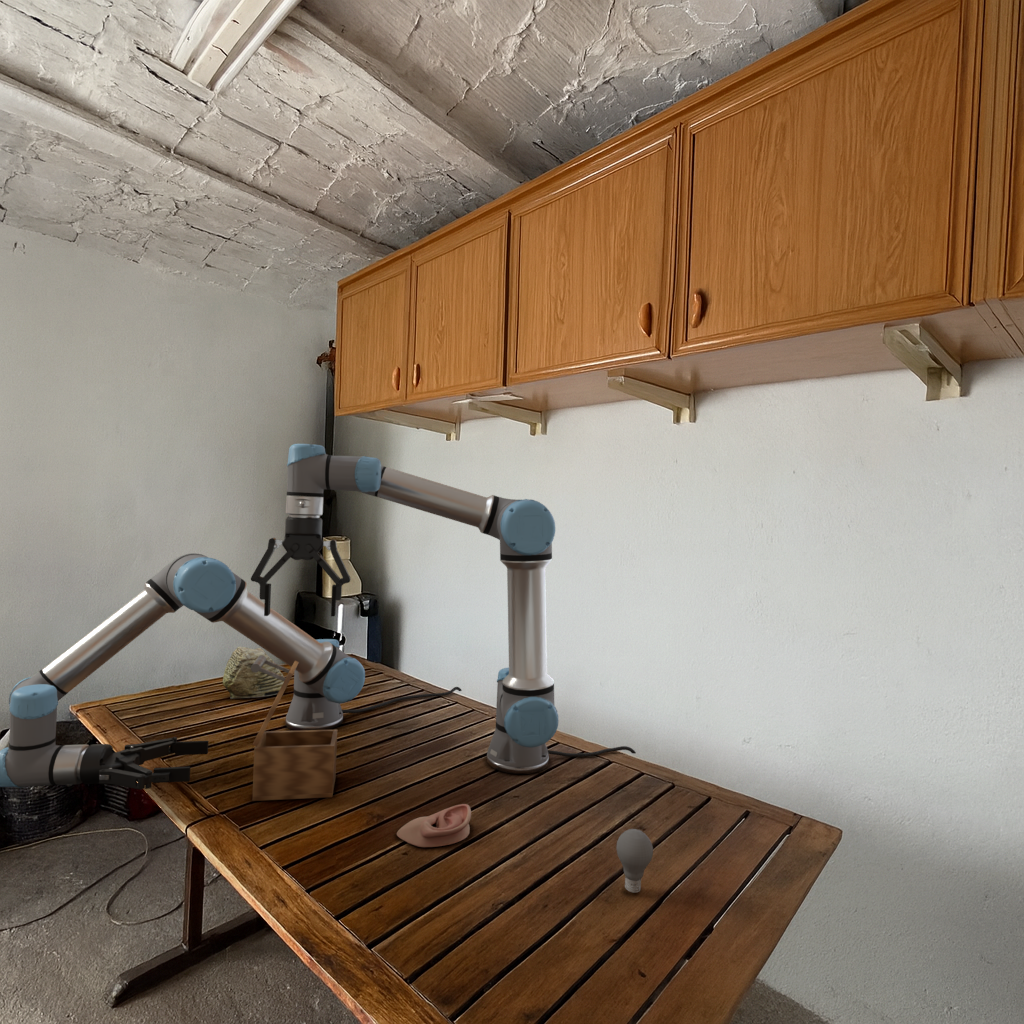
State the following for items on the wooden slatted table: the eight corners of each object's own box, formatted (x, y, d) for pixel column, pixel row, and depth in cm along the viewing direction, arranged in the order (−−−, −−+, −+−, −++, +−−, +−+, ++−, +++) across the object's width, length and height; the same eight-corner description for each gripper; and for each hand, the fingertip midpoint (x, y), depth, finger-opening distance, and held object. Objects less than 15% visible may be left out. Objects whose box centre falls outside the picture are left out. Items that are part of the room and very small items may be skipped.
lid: (298, 662, 141) (263, 647, 139) (292, 674, 132) (254, 658, 130) (265, 729, 140) (229, 715, 138) (256, 746, 130) (217, 731, 129)
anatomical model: (391, 821, 117) (413, 793, 128) (390, 842, 117) (412, 813, 128) (460, 832, 114) (476, 802, 125) (459, 853, 114) (475, 822, 126)
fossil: (218, 695, 195) (220, 647, 195) (278, 685, 208) (279, 640, 207) (228, 703, 189) (230, 653, 188) (289, 692, 201) (290, 645, 201)
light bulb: (610, 879, 108) (613, 822, 108) (644, 879, 109) (647, 822, 109) (619, 902, 102) (622, 840, 102) (655, 901, 103) (658, 840, 103)
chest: (335, 777, 143) (337, 729, 143) (332, 797, 134) (334, 745, 134) (261, 780, 140) (263, 731, 140) (252, 801, 131) (254, 748, 130)
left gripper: (111, 757, 141) (213, 753, 145) (54, 812, 116) (180, 806, 121) (112, 724, 141) (214, 721, 145) (56, 772, 116) (181, 767, 121)
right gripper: (238, 514, 130) (234, 618, 130) (363, 519, 135) (359, 618, 135) (246, 513, 137) (242, 611, 137) (364, 518, 142) (360, 612, 142)
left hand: (199, 760), depth 133 cm, fingers open, 13 cm apart
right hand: (300, 615), depth 136 cm, fingers open, 13 cm apart
